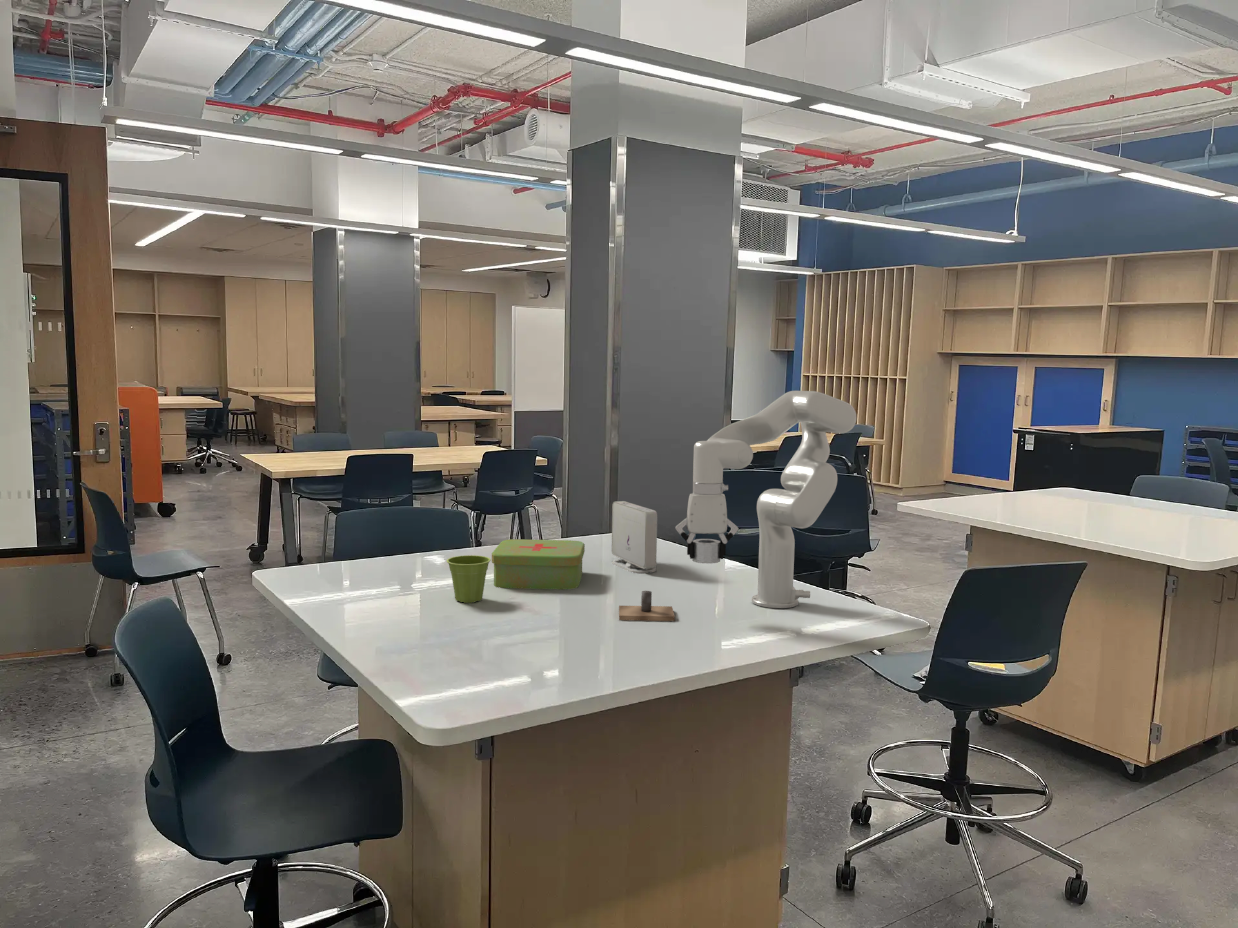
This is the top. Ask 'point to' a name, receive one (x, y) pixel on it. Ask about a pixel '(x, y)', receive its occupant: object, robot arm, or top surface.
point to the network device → (634, 536)
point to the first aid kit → (538, 564)
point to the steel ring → (706, 551)
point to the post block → (646, 611)
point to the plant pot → (468, 576)
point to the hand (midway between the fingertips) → (706, 557)
